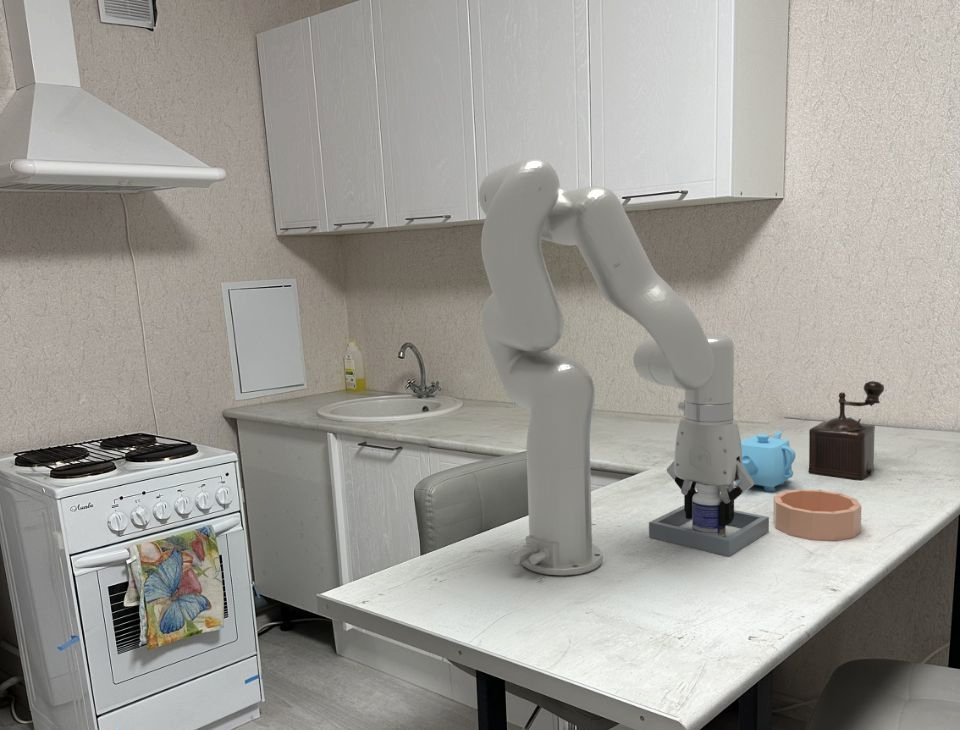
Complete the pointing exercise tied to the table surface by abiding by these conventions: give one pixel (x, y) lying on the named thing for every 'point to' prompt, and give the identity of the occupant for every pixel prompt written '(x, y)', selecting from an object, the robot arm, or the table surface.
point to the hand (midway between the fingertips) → (708, 519)
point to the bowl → (817, 514)
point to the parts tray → (726, 546)
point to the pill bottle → (707, 509)
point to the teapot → (767, 460)
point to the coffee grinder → (845, 441)
